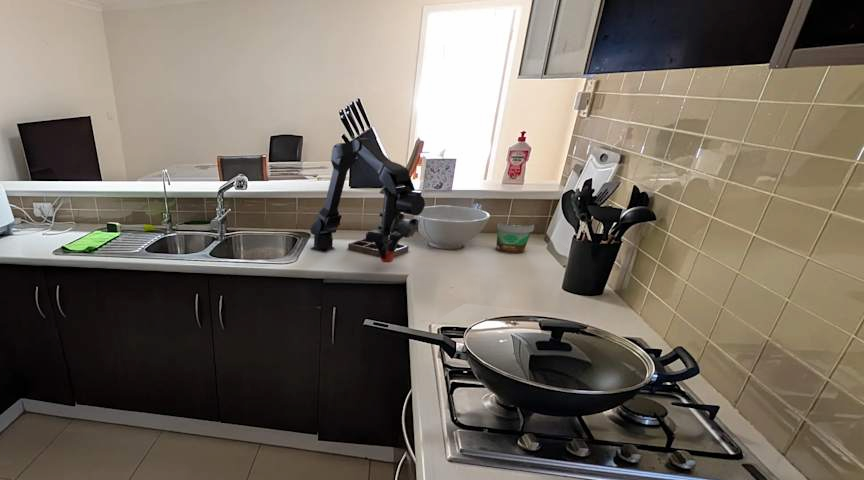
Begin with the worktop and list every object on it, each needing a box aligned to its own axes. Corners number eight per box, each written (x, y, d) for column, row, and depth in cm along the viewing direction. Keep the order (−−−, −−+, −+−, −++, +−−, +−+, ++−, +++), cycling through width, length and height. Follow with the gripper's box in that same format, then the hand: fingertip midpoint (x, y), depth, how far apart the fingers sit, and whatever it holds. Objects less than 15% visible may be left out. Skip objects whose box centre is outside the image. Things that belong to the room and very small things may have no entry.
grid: (347, 249, 193) (348, 243, 191) (366, 242, 200) (367, 237, 199) (389, 259, 181) (390, 253, 179) (408, 251, 188) (408, 245, 187)
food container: (492, 253, 183) (498, 225, 179) (491, 248, 188) (497, 221, 184) (529, 255, 179) (536, 227, 174) (528, 251, 184) (535, 223, 179)
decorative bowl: (398, 247, 194) (401, 215, 188) (425, 232, 211) (430, 203, 205) (468, 259, 178) (475, 225, 172) (492, 242, 196) (499, 210, 190)
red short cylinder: (377, 261, 166) (378, 252, 165) (384, 258, 169) (385, 249, 167) (388, 263, 164) (389, 254, 162) (395, 260, 166) (396, 251, 164)
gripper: (398, 218, 147) (392, 269, 155) (430, 208, 158) (423, 256, 166) (366, 213, 155) (362, 262, 162) (399, 203, 166) (393, 250, 173)
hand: (386, 257), depth 166 cm, fingers closed on red short cylinder, 4 cm apart
